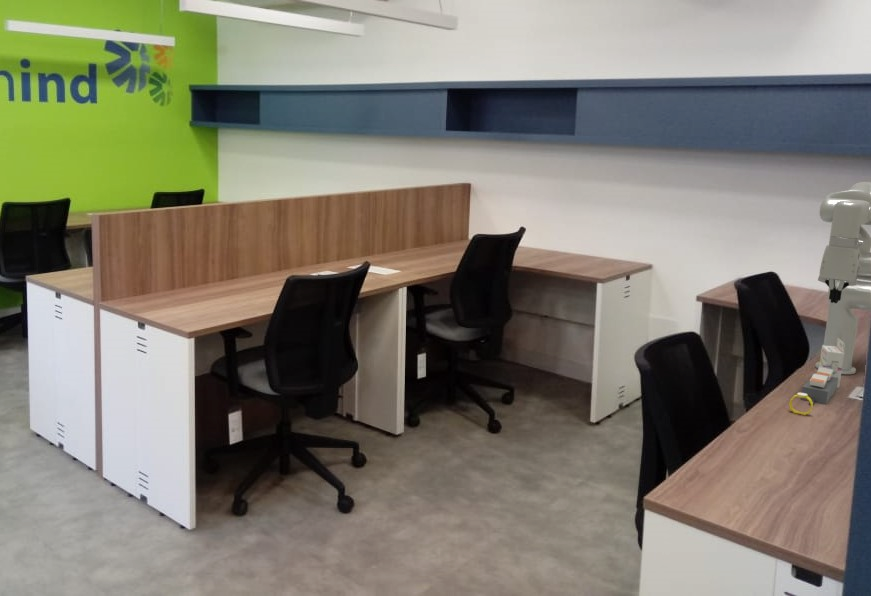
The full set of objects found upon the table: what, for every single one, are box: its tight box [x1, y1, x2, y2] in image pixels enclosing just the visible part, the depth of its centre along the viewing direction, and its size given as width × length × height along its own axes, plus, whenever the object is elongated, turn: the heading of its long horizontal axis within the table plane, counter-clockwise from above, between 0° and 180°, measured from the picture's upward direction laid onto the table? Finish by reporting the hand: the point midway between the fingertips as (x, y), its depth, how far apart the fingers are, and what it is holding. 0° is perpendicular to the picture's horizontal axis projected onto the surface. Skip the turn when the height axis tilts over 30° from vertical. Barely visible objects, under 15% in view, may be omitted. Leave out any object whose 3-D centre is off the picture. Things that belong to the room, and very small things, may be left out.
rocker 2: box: [809, 373, 828, 387], centre depth 240 cm, size 6×4×2 cm
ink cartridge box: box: [819, 338, 845, 389], centre depth 255 cm, size 9×5×15 cm, turn 168°
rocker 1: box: [815, 367, 833, 381], centre depth 247 cm, size 6×4×2 cm
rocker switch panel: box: [800, 376, 838, 406], centre depth 243 cm, size 22×7×5 cm, turn 145°
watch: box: [788, 392, 814, 416], centre depth 226 cm, size 6×3×6 cm, turn 55°
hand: (834, 302), depth 241 cm, fingers closed
